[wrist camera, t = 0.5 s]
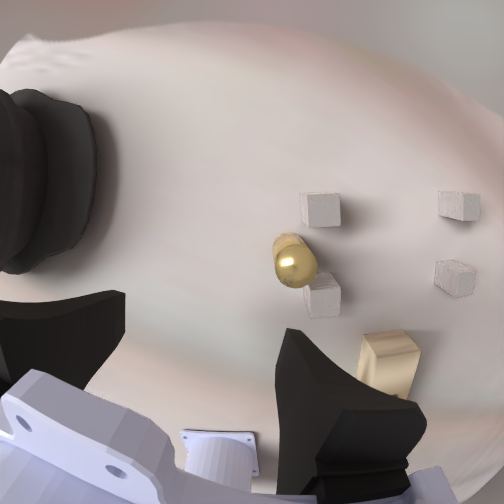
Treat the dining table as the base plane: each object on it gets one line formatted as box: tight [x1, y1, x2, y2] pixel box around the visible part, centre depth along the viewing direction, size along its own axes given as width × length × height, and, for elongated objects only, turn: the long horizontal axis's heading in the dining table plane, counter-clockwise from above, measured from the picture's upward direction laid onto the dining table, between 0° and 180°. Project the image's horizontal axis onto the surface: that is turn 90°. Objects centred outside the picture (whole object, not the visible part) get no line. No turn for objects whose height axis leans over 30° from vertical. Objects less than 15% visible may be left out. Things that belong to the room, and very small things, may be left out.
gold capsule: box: [273, 233, 318, 288], centre depth 18 cm, size 2×2×5 cm
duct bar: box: [356, 330, 421, 400], centre depth 21 cm, size 10×4×4 cm, turn 2°
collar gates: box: [300, 191, 480, 319], centre depth 19 cm, size 8×14×4 cm, turn 95°
